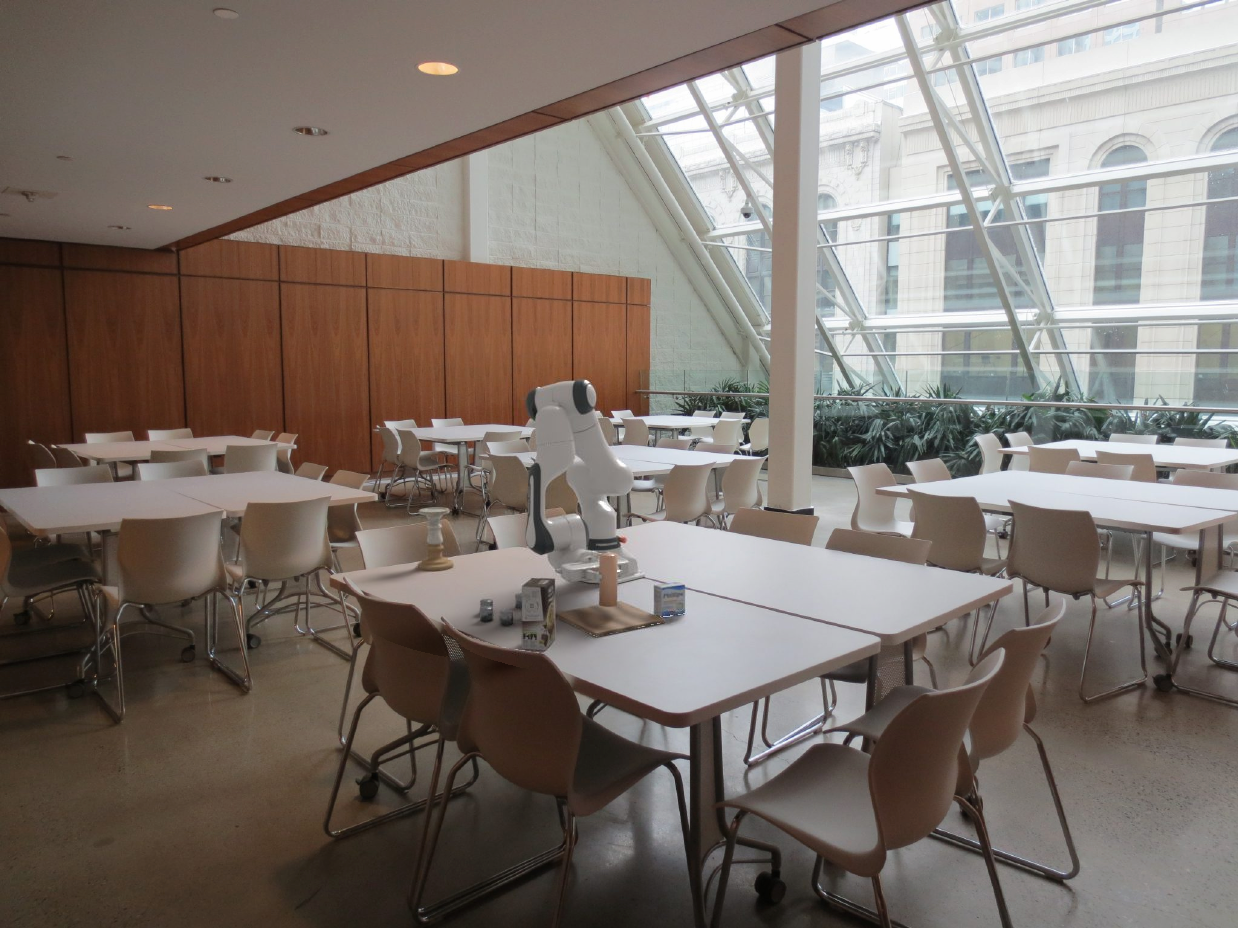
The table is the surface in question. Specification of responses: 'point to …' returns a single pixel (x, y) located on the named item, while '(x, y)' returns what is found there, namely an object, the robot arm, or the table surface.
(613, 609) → the walnut board
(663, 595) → the medicine box
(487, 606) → the posts
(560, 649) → the table surface
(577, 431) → the robot arm
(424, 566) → the candle holder
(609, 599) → the peach rounded cylinder
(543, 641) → the coffee box
